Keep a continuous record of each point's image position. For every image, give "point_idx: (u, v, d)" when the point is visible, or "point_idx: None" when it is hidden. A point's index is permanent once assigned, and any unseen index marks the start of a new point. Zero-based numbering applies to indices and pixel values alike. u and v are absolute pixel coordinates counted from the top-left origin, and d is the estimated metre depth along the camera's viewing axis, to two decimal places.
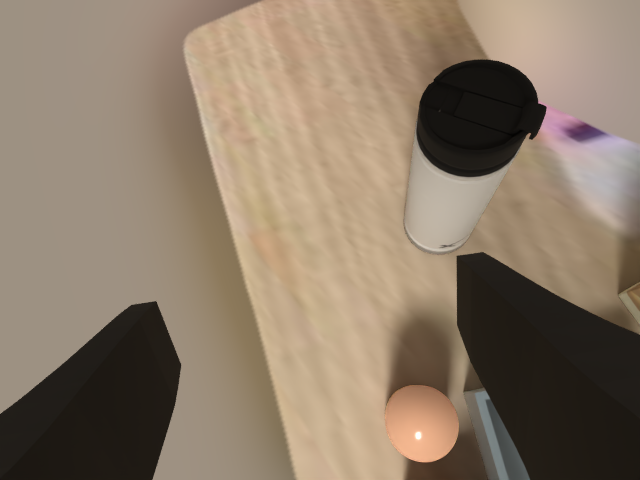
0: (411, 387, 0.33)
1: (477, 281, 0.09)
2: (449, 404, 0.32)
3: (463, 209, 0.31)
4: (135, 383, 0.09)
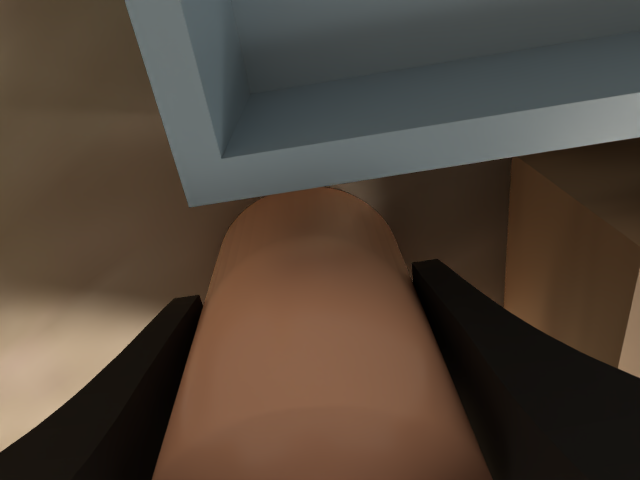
0: None
1: (426, 289, 0.09)
2: (231, 434, 0.06)
3: None
4: None
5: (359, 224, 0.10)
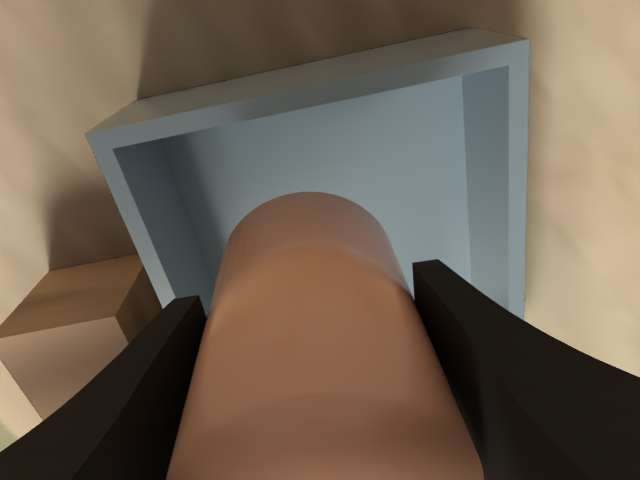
0: None
1: (427, 288, 0.09)
2: (269, 410, 0.06)
3: None
4: (184, 375, 0.09)
5: (369, 234, 0.11)
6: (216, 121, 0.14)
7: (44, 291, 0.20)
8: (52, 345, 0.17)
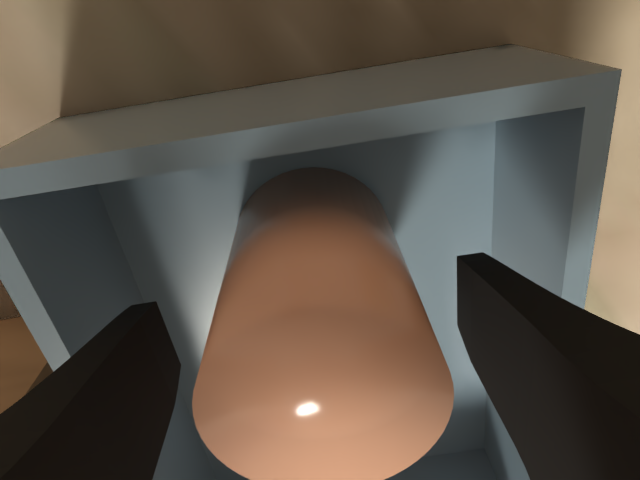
0: (198, 419, 0.09)
1: (477, 281, 0.09)
2: (278, 321, 0.08)
3: None
4: (135, 383, 0.09)
5: (366, 202, 0.13)
6: (144, 168, 0.09)
7: None
8: None
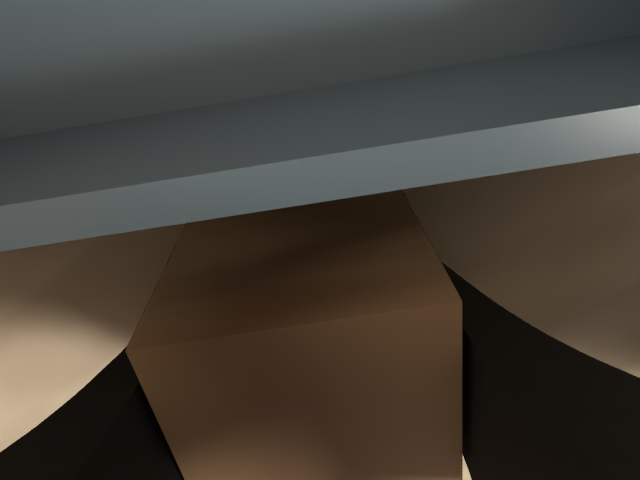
0: None
1: None
2: None
3: None
4: None
5: None
6: None
7: None
8: (222, 464, 0.08)
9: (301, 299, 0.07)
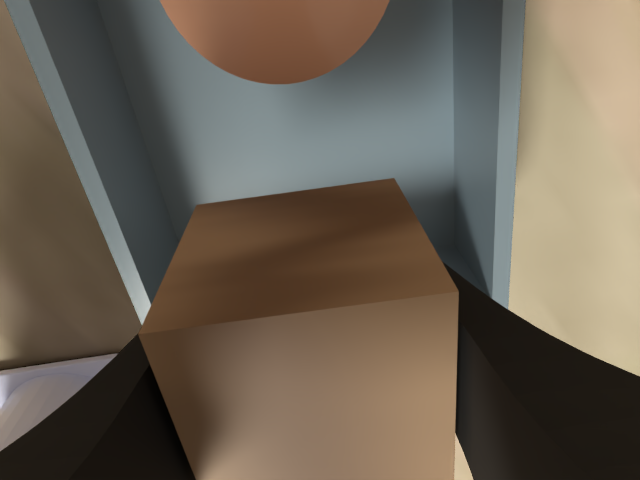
0: None
1: None
2: None
3: None
4: None
5: None
6: None
7: None
8: (225, 446, 0.08)
9: (306, 288, 0.08)
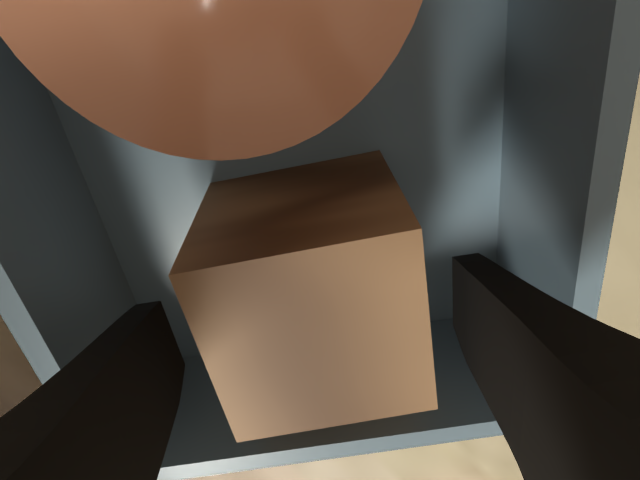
0: None
1: (472, 282, 0.09)
2: None
3: None
4: (139, 382, 0.09)
5: None
6: None
7: None
8: (242, 372, 0.10)
9: (301, 235, 0.09)
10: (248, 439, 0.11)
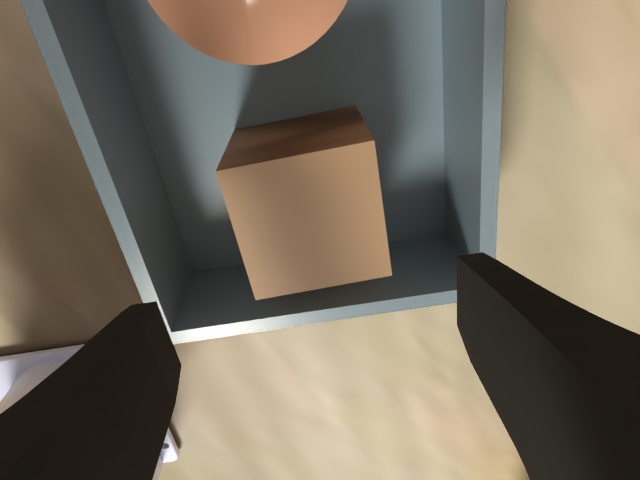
0: None
1: (477, 281, 0.09)
2: None
3: None
4: (135, 383, 0.09)
5: None
6: None
7: None
8: (260, 243, 0.16)
9: (299, 148, 0.15)
10: (263, 297, 0.17)
